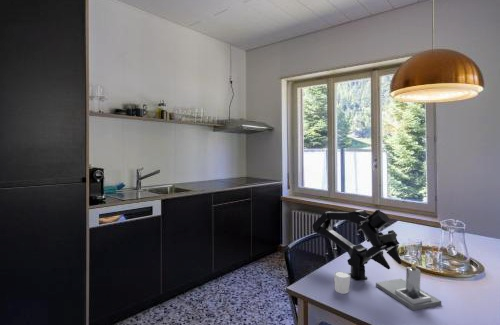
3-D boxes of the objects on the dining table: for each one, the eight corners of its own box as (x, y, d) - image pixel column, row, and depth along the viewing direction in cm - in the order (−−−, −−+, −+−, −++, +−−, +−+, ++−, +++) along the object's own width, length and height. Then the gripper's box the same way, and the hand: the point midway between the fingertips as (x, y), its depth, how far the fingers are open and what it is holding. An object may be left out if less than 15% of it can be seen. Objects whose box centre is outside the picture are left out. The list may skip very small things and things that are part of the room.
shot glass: (346, 286, 127) (347, 271, 127) (352, 294, 120) (353, 278, 120) (331, 286, 127) (331, 271, 126) (336, 294, 120) (337, 278, 120)
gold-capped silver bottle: (404, 296, 115) (405, 263, 115) (406, 291, 119) (407, 260, 119) (418, 300, 112) (419, 266, 112) (420, 295, 116) (421, 263, 116)
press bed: (375, 285, 127) (376, 280, 127) (400, 281, 132) (401, 276, 131) (413, 310, 108) (413, 303, 108) (441, 304, 112) (441, 298, 112)
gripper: (372, 228, 119) (397, 262, 111) (395, 221, 130) (420, 252, 122) (355, 241, 126) (378, 275, 118) (378, 234, 137) (401, 264, 129)
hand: (395, 266), depth 121 cm, fingers open, 9 cm apart
